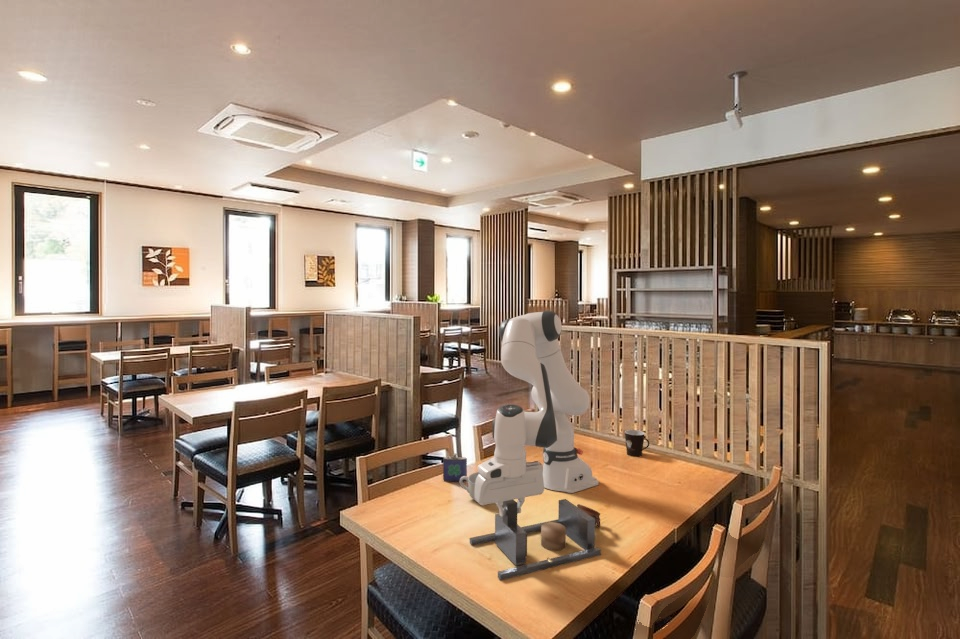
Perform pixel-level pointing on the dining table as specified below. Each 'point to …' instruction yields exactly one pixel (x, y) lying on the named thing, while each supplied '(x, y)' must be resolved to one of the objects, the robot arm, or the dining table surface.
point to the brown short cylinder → (553, 536)
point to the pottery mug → (591, 513)
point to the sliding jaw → (511, 534)
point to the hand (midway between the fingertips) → (509, 514)
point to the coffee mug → (635, 442)
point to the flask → (454, 468)
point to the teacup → (470, 483)
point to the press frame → (577, 529)
